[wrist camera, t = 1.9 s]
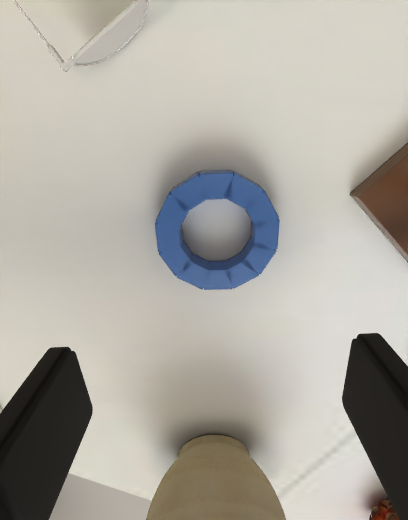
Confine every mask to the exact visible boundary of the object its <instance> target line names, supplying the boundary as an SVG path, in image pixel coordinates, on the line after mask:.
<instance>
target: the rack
mask: <svg viewBox="0 0 408 520" xmlns="http://www.w3.org/2000/svg"><path fill="white" fill-rule="evenodd" d="M350 195H351V196H352V197H353V199H354V200H355V201H356V202H357V203H358V204H359V206H360V207H361V208H362V209H363V210H364V211H365V213H366V214H367V215H368V216H369V217H370V218H371V220H372V221H373V222H374V223H375V224H376V225H377V227H378V228H379V229H380V230H381V231H382V232H383V233H384V235H385V236H386V237H387V238H388V239H389V240H390V242H391V243H392V244H393V245H394V246H395V247H396V249H397V250H398V251H399V252H400V253H401V254H402V256H403V257H404V258H405V259H406V260H407V261H408V143H407V144H406V145H405V146H404V147H403V148H402V149H401V150H399V151H398V152H397V153H396V154H395V155H394V156H393V157H391V158H390V159H389V160H388V161H387V162H386V163H385V164H383V165H382V166H381V167H380V168H379V169H378V170H377V171H375V172H374V173H373V174H372V175H371V176H370V177H369V178H367V179H366V180H365V181H364V182H363V183H362V184H361V185H359V186H358V187H357V188H356V189H355V190H354V191H353V192H351V193H350Z"/></svg>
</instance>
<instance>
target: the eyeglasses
mask: <svg viewBox="0 0 408 520" xmlns="http://www.w3.org/2000/svg"><path fill="white" fill-rule="evenodd" d="M13 1H14V3H15V4H16V5H17V7H18V8H19V9H20V11H21V12H22V13H23V14H24V16H25V17H26V18H27V20H28V21H29V22H30V23H31V25H32V26H33V27H34V29H35V30H36V31H37V32H38V34H39V35H40V36H41V38H42V39H43V40H44V41H45V43H46V44H47V45H48V48H47V49H48V50H49V52H50V53H51V54H52V56H53V57H54V58H55V60H56V61H57V63H58V64H59V65H60V67H61V68H62V69H63V70H64V71H68V70H69V69H70V68H72V67H73V66H74V65H76V66H86V65H93V64H97V63H100V62H102V61H104V60H106V59H108V58H109V57H111V56H112V55H113V54H115V53H116V52H117V51H119V50H120V49H121V48H122V47H124V46H125V45H126V44H127V43H128V42H129V41H130V40H131V39H132V38H133V37H134V36H135V34H136V33H137V32H138V31H139V30H140V29H141V27H142V25H143V23H144V20H145V18H146V15H147V11H148V0H135V1H133V2H132V3H131V4H130V5H129V6H127V7H126V8H125V9H124V10H123V11H122V12H121V13H119V14H118V15H117V16H116V17H115V18H114V19H113V20H112V21H111V22H110V23H109V24H108V25H107V26H105V27H104V28H103V29H102V30H101V31H100V32H99V33H97V34H96V35H95V36H94V37H93V38H92V39H91V40H89V41H88V42H87V43H86V44H85V45H84V46H83V47H82V48H81V49H80V50H79V51H78V52H77V53H76V54H75V55H74V56H73V59H72V57H71V58H69V59H68V60H67V61H66V62H64V61H63V60H62V58H61V57H60V55H59V54H58V53H57V51H56V50H55V49H54V48H53V46H51V45H49V43H48V42H47V41H46V39H45V38H44V37H43V36H42V34H41V33H40V32H39V30H38V29H37V28H36V27H35V25H34V24H33V23H32V21H31V20H30V19H29V18H28V16H27V15H26V14H25V12H24V11H23V10H22V9H21V7H20V6H19V5H18V3H17V2H16V1H15V0H13Z"/></svg>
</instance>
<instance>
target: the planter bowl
mask: <svg viewBox="0 0 408 520" xmlns="http://www.w3.org/2000/svg"><path fill="white" fill-rule="evenodd" d="M146 520H286V518H285V515H284V512H283V509H282V506H281V504H280V501H279V499H278V497H277V495H276V493H275V491H274V489H273V487H272V485H271V484H270V482H269V480H268V479H267V477H266V476H265V474H264V473H263V471H262V470H261V469H260V468H259V466H258V465H257V464H256V463H255V462H254V461H253V460H252V459H251V458H250V455H249V452H248V450H247V449H246V447H245V446H244V445H243V444H242V443H241V442H239V441H238V440H236V439H234V438H231V437H228V436H224V435H205V436H201V437H197V438H195V439H192V440H190V441H189V442H187V443H186V444H185V445H184V446H183V447H182V448H181V450H180V452H179V454H178V458H177V460H176V461H175V462H174V463H173V465H172V466H171V467H170V468H169V470H168V471H167V473H166V474H165V476H164V477H163V479H162V481H161V483H160V485H159V486H158V488H157V491H156V493H155V495H154V497H153V500H152V503H151V505H150V508H149V511H148V515H147V518H146Z"/></svg>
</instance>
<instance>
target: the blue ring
mask: <svg viewBox="0 0 408 520" xmlns="http://www.w3.org/2000/svg"><path fill="white" fill-rule="evenodd" d="M206 199H228V200H230V201H232V202H234V203H235V204H237V205H239V206H241V207H243V208H244V209H245V210H246V211H247V213H248V215H249V217H250V218H251V220H252V223H251V238H250V240H249V241H248V243H247V244H246V246H245V248H244V249H243V251H242V252H241V253H240V254H238V255H236V256H234V257H232V258H230V259H229V260H227V261H207V260H205V259H203V258H201V257H199V256H197V255H195V254H193V253H192V252H191V250H190V249H189V247H188V246H187V244H186V243H185V242H184V240H183V235H182V222H183V220H184V219H185V217H186V215H187V213H188V211H189V210H190V209H192V208H193V207H195V206H197V205H198V204H200V203H202V202H203V201H205V200H206ZM278 218H279V217H278V215H277V213H276V211H275V209H274V207H273V205H272V203H271V202H270V200H269V198H268V196H267V194H266V192H265V191H264V190H263V189H262V188H261V187H260V186H259V185H258V184H256V183H254V182H253V181H251V180H249V179H247V178H246V177H244V176H242V175H240V174H239V173H237V172H235V171H231V170H214V171H200V173H199V172H197V173H195V174H194V175H192V176H191V177H189V178H188V179H186V180H184V181H183V182H181V183H180V184H178V185H177V186H175V187H174V188H173V189H172V190H171V191H170V193H169V194H168V196H167V198H166V200H165V203H164V205H163V207H162V209H161V211H160V213H159V215H158V217H157V219H156V223H155V226H156V235H157V245H158V252H159V255H160V256H161V257H162V259H163V260H164V261H165V263H166V264H167V265H168V267H169V268H170V270H171V271H172V272H173V274H174V275H175V276H177V278H179V279H181V280H183V281H185V282H187V283H190V284H192V285H194V286H196V287H198V288H200V289H203V288H204V290H213V289H232V287H233V288H236V287H238V286H240V285H242V284H244V283H246V282H247V281H249V280H251V279H253V278H255V277H257V276H259V274H261V273H262V271H263V270H264V268H265V267H266V265H267V264H268V262H269V261H270V260H271V258H272V257H273V255H274V254H275V252H276V249H277V246H278V232H279V219H278Z"/></svg>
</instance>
